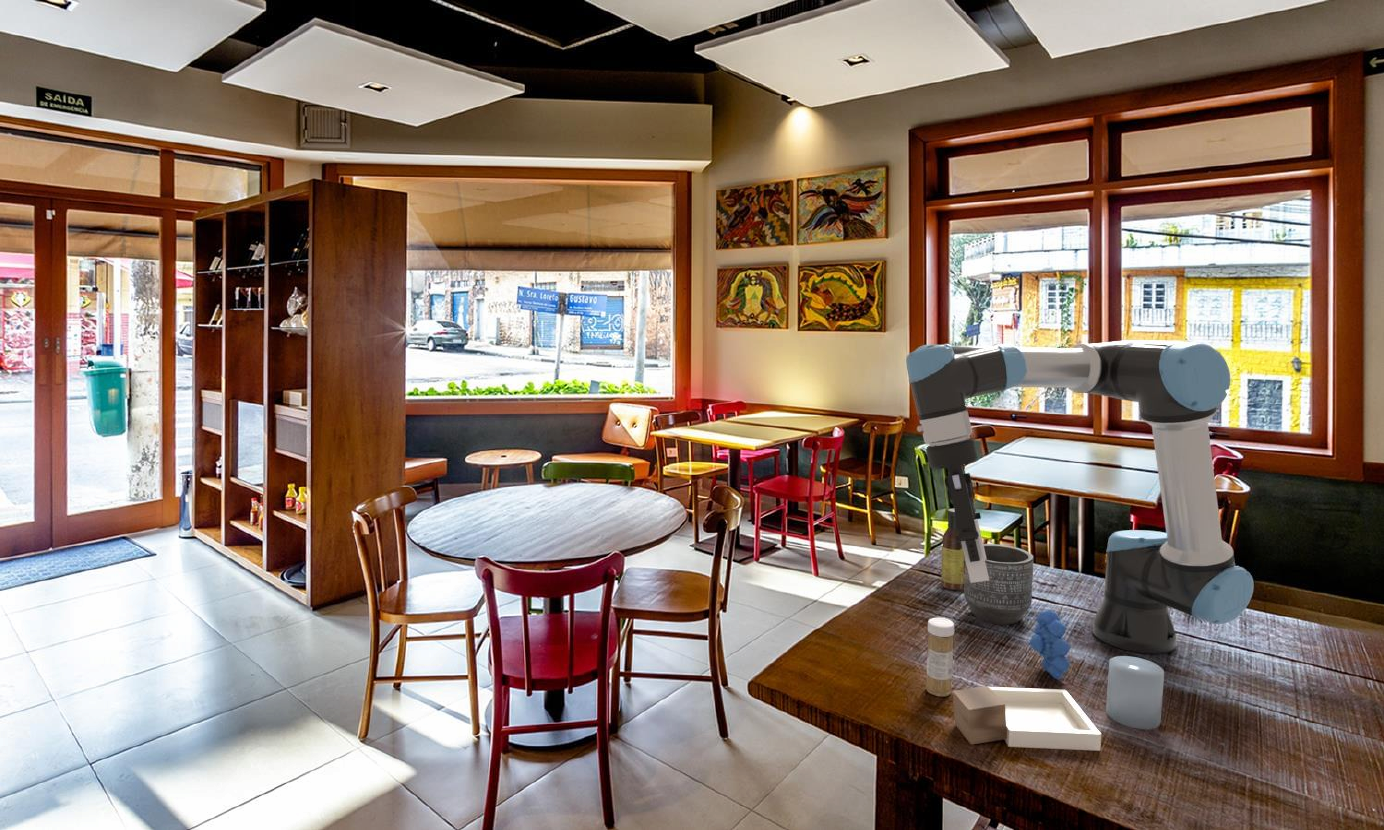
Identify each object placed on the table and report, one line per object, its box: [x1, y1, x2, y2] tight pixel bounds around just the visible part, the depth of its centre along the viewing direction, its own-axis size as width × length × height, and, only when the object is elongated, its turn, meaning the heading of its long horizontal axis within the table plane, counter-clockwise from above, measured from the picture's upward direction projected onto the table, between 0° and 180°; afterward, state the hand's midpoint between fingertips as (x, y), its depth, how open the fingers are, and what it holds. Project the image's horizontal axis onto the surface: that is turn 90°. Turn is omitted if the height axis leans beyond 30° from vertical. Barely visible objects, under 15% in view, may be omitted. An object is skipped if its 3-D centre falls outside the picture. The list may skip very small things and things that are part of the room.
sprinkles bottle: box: [925, 617, 955, 697], centre depth 135 cm, size 5×5×13 cm
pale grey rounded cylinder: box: [1105, 655, 1165, 730], centre depth 127 cm, size 8×11×9 cm
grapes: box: [1028, 609, 1071, 680], centre depth 142 cm, size 12×7×12 cm, turn 177°
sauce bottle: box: [940, 508, 966, 591], centre depth 186 cm, size 7×6×20 cm
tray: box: [988, 686, 1102, 752], centre depth 124 cm, size 14×14×3 cm
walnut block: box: [952, 685, 1007, 746], centre depth 121 cm, size 6×6×6 cm
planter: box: [963, 543, 1034, 626], centre depth 168 cm, size 14×14×15 cm
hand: (979, 569), depth 119 cm, fingers open, 13 cm apart
